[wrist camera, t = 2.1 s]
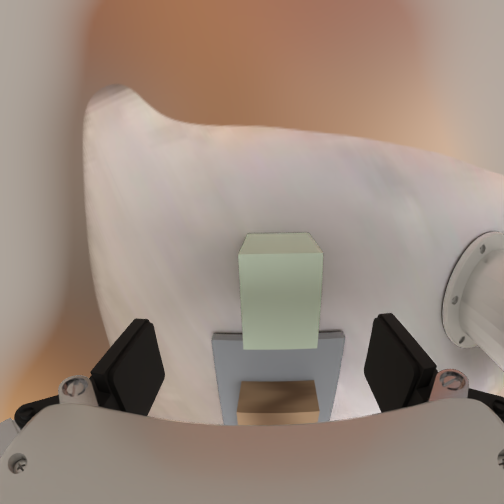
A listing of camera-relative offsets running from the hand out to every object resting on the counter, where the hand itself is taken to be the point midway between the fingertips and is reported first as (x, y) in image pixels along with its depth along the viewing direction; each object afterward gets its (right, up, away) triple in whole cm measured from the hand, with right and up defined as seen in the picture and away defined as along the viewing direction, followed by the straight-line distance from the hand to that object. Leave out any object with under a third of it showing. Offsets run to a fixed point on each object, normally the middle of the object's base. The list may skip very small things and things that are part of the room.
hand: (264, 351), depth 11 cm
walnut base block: (+2, -11, +14) cm, 18 cm away
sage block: (+2, +2, +10) cm, 11 cm away
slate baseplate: (+2, -11, +14) cm, 18 cm away
